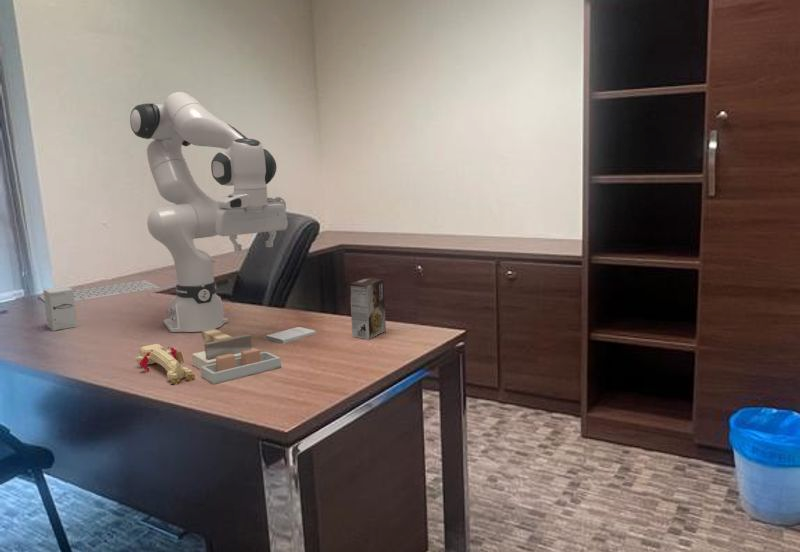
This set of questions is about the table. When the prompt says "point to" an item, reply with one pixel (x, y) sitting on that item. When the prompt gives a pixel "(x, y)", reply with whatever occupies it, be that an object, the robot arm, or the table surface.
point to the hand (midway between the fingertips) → (254, 249)
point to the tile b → (250, 356)
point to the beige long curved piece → (165, 362)
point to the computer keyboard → (110, 290)
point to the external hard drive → (290, 335)
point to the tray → (241, 368)
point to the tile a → (225, 362)
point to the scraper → (224, 343)
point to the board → (201, 360)
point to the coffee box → (367, 308)
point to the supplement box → (60, 308)
